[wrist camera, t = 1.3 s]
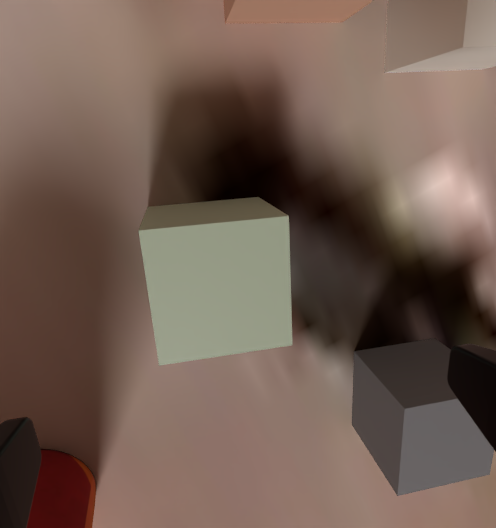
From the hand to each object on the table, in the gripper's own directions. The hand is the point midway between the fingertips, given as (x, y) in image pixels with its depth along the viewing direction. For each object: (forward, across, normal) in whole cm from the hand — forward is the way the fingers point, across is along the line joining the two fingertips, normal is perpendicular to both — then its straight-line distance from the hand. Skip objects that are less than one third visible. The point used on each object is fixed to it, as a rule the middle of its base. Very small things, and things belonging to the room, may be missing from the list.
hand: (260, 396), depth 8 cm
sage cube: (+11, 0, 0) cm, 11 cm away
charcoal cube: (+11, -10, +9) cm, 17 cm away
